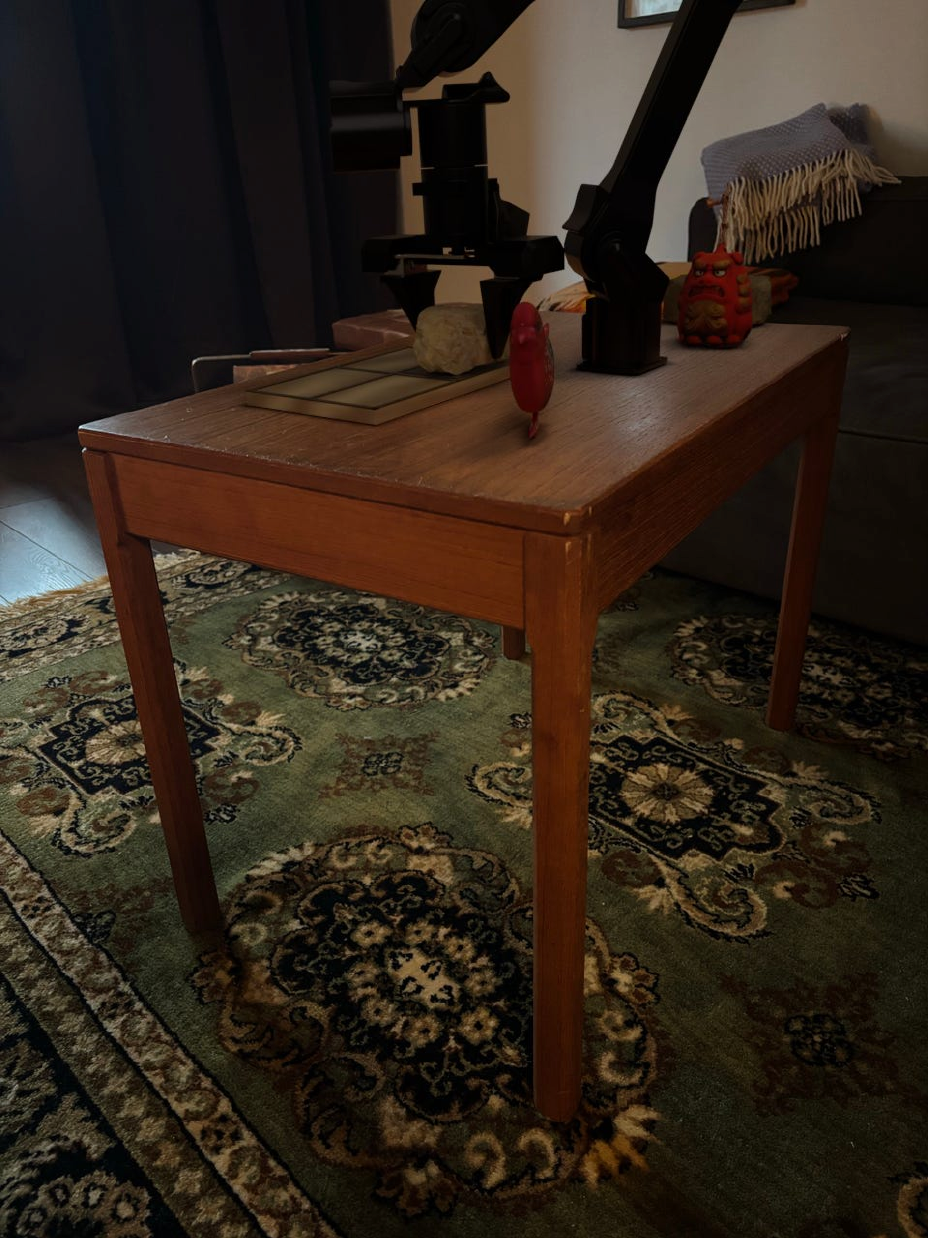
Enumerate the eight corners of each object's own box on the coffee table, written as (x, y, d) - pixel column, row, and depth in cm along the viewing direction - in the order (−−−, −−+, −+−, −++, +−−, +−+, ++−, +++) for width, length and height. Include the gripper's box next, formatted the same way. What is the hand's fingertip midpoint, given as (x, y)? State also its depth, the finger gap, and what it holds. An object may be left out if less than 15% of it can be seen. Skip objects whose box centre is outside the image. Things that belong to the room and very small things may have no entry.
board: (530, 370, 91) (530, 356, 91) (376, 425, 76) (374, 408, 75) (408, 358, 100) (408, 345, 99) (247, 405, 84) (245, 390, 83)
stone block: (678, 315, 115) (680, 271, 113) (774, 320, 110) (778, 274, 107) (659, 323, 111) (661, 278, 109) (758, 329, 105) (762, 281, 103)
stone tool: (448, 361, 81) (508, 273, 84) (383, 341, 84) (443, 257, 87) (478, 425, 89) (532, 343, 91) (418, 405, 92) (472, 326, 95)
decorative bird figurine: (502, 461, 65) (497, 307, 61) (530, 399, 81) (528, 273, 77) (544, 461, 65) (543, 306, 61) (565, 399, 81) (565, 272, 76)
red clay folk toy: (666, 347, 98) (673, 186, 92) (688, 335, 104) (696, 182, 97) (741, 351, 95) (754, 184, 88) (760, 338, 100) (773, 180, 93)
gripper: (598, 159, 82) (596, 346, 89) (428, 166, 93) (437, 333, 99) (526, 164, 74) (529, 369, 81) (348, 172, 85) (365, 353, 92)
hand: (463, 354), depth 88 cm, fingers open, 7 cm apart
